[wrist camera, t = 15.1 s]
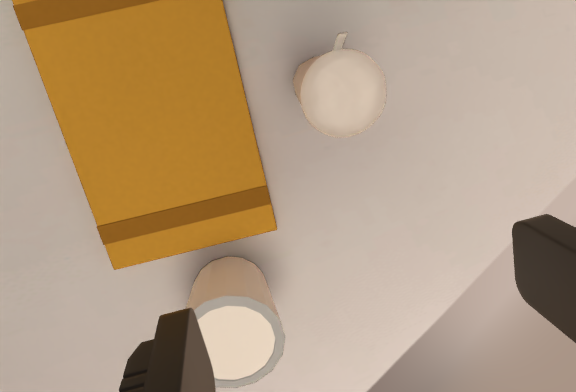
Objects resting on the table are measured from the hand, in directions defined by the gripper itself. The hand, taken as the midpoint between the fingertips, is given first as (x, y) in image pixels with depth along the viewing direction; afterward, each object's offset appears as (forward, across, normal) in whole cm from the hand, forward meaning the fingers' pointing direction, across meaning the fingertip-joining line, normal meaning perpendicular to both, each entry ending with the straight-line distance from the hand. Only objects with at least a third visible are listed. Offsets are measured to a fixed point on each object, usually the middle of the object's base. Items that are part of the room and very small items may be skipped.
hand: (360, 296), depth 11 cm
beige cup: (+23, +6, +11) cm, 26 cm away
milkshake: (+23, -4, -3) cm, 23 cm away
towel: (+23, +7, -3) cm, 24 cm away
